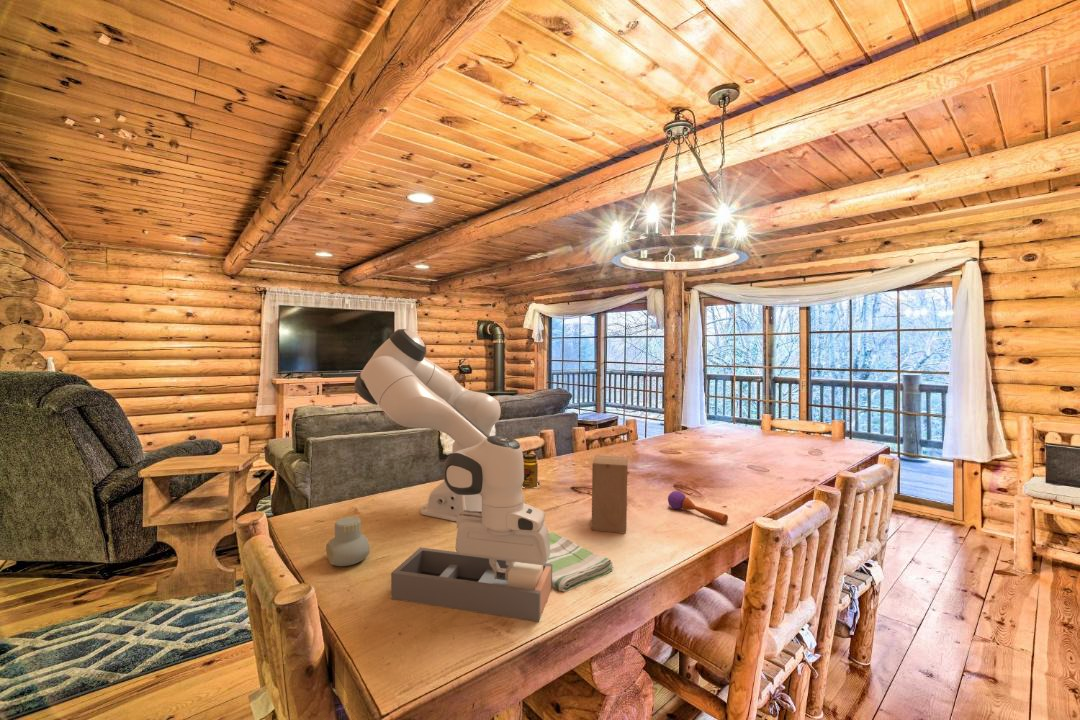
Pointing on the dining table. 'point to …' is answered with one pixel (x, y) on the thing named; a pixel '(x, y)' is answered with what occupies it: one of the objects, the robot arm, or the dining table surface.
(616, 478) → the wooden block
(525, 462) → the condiment
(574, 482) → the dining table surface
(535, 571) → the cream block
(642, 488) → the dining table surface
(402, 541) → the dining table surface
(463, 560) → the box
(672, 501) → the purple and brown maraca
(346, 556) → the air freshener
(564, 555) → the dish towel
